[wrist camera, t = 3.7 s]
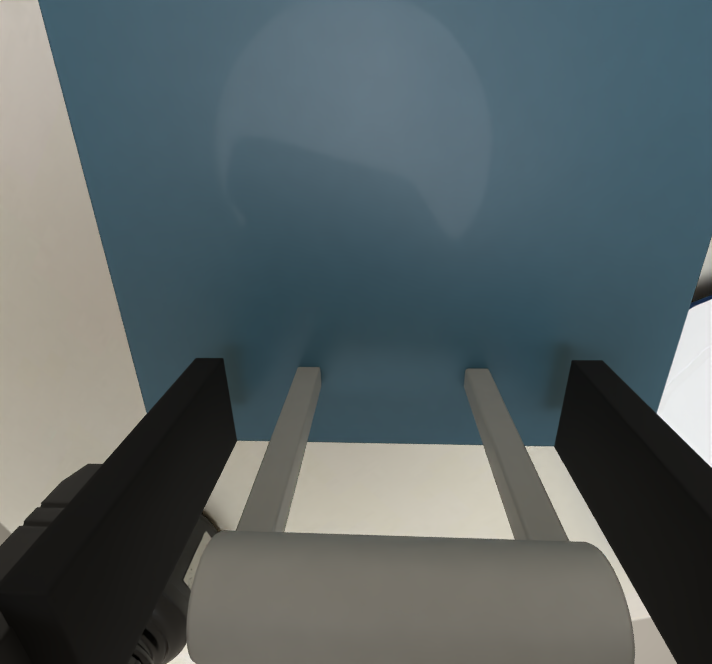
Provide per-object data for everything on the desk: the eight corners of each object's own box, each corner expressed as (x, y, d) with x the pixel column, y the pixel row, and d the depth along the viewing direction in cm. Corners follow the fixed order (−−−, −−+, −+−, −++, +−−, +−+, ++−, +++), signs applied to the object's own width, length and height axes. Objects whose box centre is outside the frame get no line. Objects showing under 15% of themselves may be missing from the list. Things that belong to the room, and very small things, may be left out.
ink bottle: (185, 594, 35) (93, 802, 24) (86, 541, 33) (-62, 740, 22) (249, 530, 31) (178, 737, 20) (143, 467, 29) (2, 659, 19)
